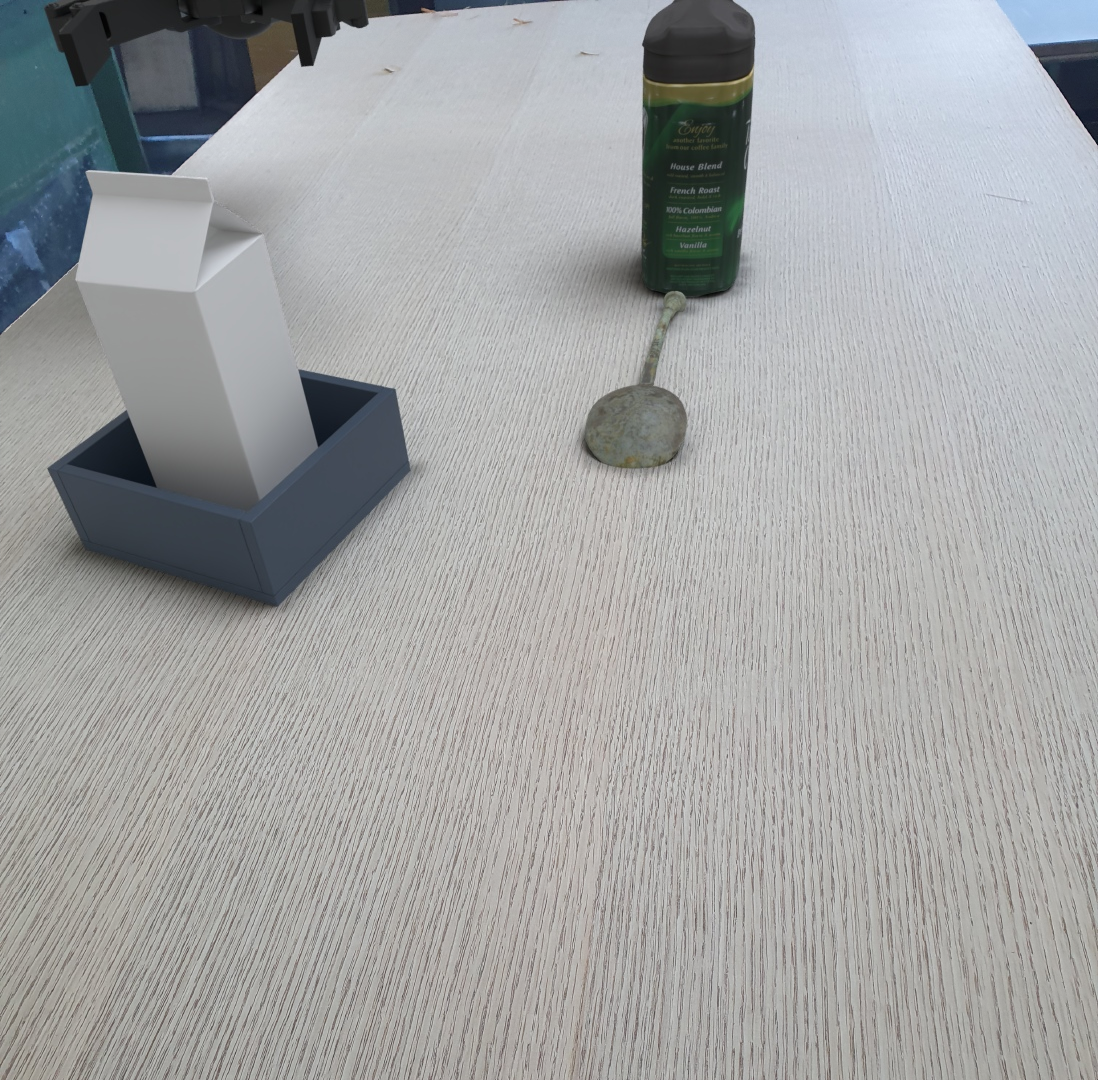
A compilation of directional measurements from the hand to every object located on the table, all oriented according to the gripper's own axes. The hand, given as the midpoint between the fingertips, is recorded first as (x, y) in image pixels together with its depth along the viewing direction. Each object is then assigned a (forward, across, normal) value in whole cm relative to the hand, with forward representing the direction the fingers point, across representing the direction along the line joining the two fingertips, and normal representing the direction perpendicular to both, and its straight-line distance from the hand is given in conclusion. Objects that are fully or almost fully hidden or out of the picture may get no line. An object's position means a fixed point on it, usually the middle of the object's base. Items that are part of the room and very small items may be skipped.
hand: (187, 50), depth 63 cm
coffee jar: (-11, -32, -21) cm, 40 cm away
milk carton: (+16, 0, -20) cm, 26 cm away
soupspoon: (+5, -27, -21) cm, 35 cm away
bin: (+16, 0, -21) cm, 27 cm away
